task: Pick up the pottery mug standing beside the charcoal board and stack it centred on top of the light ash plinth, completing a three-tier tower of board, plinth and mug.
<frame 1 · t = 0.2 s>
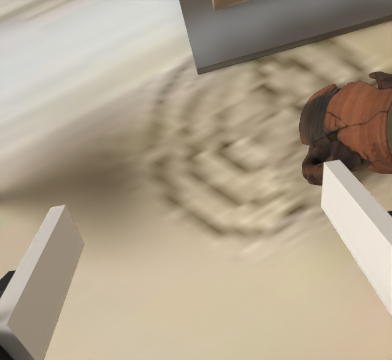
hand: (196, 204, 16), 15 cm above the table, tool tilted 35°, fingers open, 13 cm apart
pottery mug: (341, 139, 31), on the table
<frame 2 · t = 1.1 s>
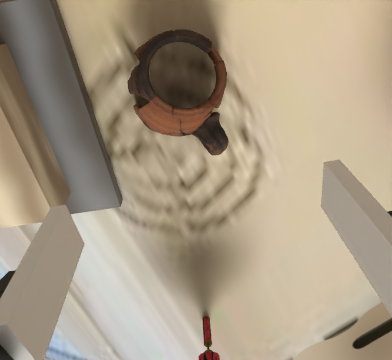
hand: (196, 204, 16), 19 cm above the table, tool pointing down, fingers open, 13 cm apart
lantern: (206, 318, 52), on the table
pottery mug: (183, 91, 32), on the table
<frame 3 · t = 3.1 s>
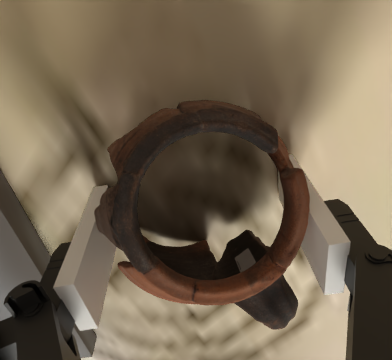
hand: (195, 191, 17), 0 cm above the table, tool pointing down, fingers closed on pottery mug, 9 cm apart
pottery mug: (205, 190, 18), on the table, touching gripper
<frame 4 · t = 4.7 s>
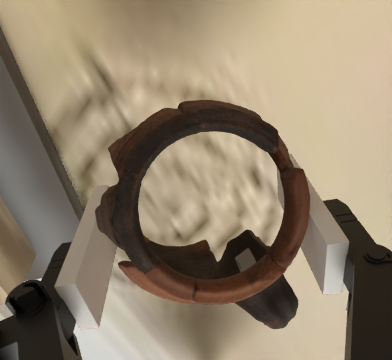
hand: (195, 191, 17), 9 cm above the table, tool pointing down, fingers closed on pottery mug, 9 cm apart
pottery mug: (205, 190, 18), point 8 cm above the table, touching gripper
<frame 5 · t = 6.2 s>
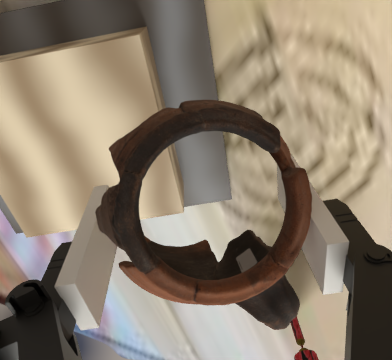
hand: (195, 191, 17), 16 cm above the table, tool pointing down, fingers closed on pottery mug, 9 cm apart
build base: (92, 124, 32), on the table
lantern: (292, 315, 51), on the table
pottery mug: (206, 190, 18), point 16 cm above the table, touching gripper
when the fingers open (8 cm above the table, at t = 9.2 s): pottery mug drops 1 cm, resting on build base.
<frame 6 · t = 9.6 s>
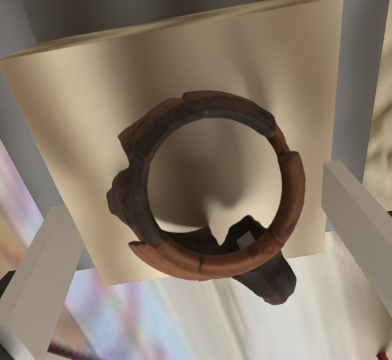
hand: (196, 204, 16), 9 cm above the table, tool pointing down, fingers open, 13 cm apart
build base: (190, 132, 24), on the table
lantern: (380, 354, 43), on the table
pottery mug: (208, 177, 19), point 6 cm above the table, touching build base
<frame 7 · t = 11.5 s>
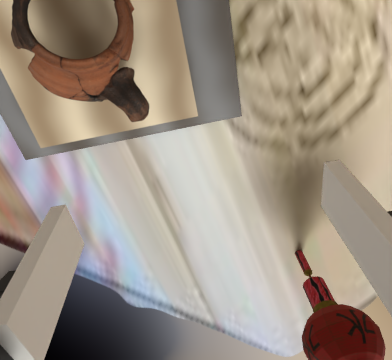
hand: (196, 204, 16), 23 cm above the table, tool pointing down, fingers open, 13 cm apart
build base: (102, 36, 32), on the table
lantern: (298, 252, 52), on the table
pottery mug: (98, 49, 27), point 6 cm above the table, touching build base
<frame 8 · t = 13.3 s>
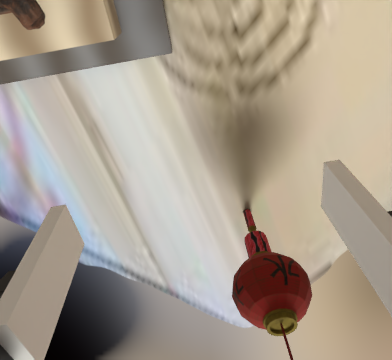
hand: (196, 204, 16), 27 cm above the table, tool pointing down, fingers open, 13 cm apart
lantern: (246, 211, 51), on the table
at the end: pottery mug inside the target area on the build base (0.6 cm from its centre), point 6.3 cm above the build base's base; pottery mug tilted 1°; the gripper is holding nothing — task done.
